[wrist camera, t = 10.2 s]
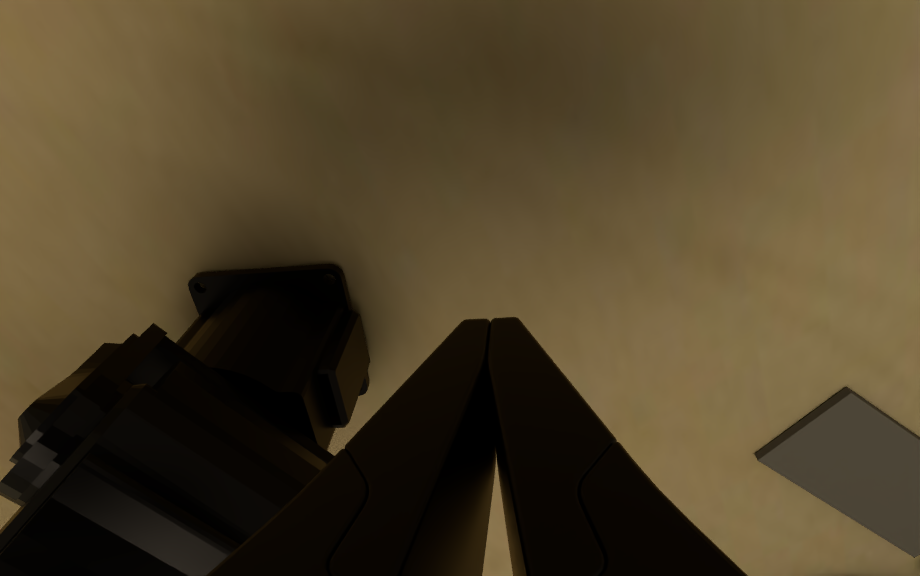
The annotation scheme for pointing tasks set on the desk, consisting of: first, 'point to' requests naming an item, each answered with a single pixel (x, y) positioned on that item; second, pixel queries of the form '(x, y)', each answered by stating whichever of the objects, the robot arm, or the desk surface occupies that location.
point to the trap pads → (855, 466)
